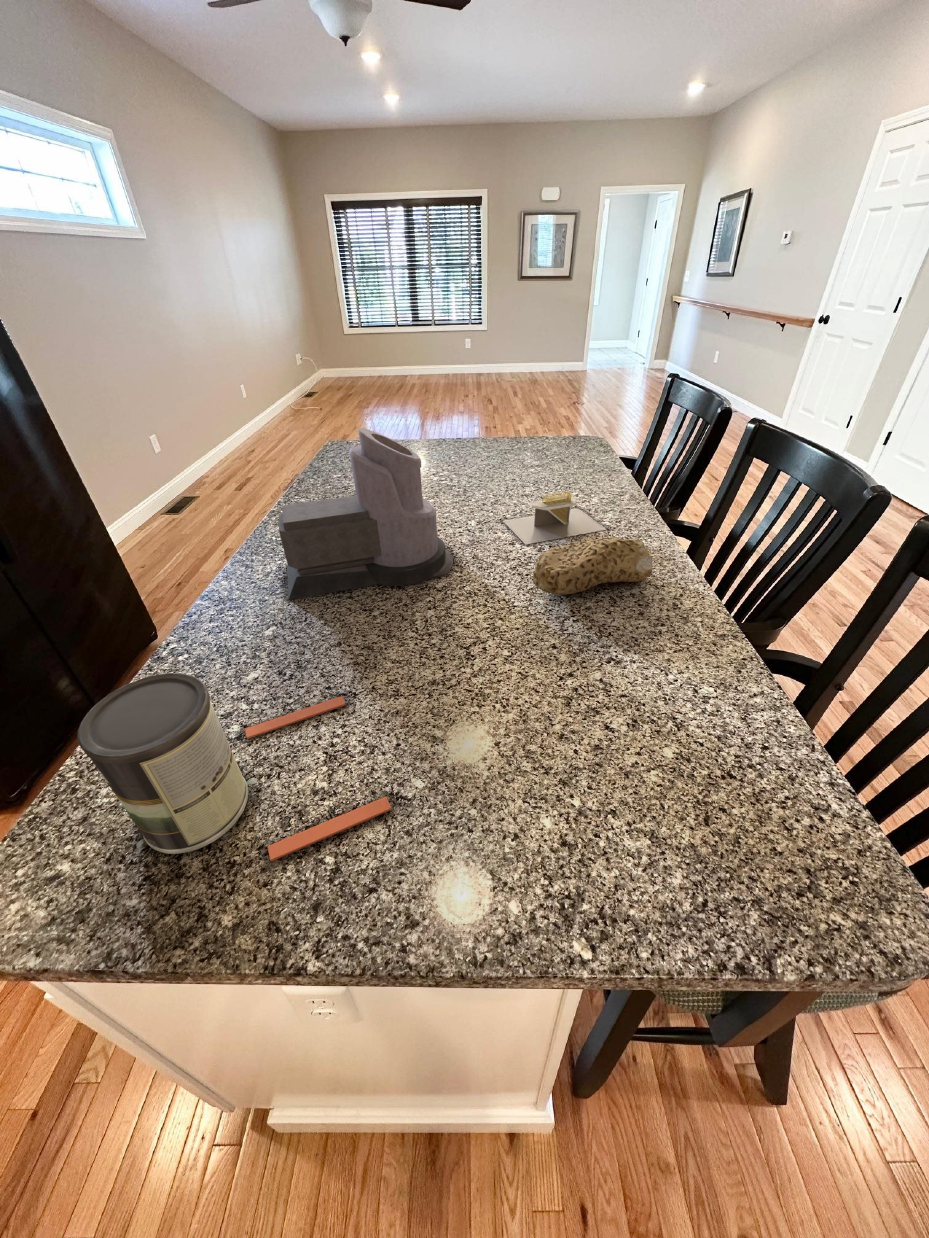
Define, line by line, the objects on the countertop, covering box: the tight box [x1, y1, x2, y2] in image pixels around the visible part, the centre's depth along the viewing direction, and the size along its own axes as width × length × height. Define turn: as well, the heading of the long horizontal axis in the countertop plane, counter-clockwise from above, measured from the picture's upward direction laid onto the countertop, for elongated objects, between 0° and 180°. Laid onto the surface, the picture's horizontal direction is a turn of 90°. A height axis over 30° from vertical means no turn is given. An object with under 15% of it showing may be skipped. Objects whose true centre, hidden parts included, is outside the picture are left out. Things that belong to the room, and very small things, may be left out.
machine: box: [278, 427, 454, 601], centre depth 87 cm, size 30×16×24 cm, turn 107°
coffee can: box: [76, 672, 249, 855], centre depth 49 cm, size 10×10×14 cm
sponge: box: [532, 537, 653, 596], centre depth 85 cm, size 13×8×20 cm
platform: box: [502, 490, 607, 545], centre depth 105 cm, size 12×18×7 cm, turn 109°
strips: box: [244, 695, 393, 862], centre depth 57 cm, size 12×19×1 cm, turn 26°
